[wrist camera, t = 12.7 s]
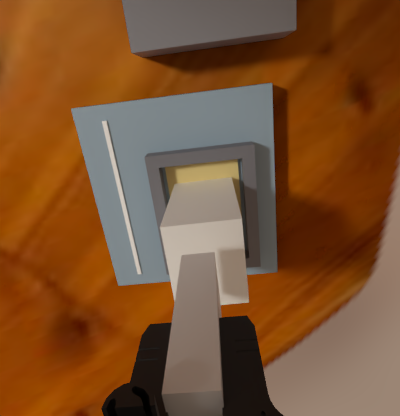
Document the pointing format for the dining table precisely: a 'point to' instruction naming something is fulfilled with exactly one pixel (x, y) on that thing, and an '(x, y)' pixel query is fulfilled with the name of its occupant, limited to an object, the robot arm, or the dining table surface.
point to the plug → (207, 233)
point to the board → (179, 170)
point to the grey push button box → (204, 23)
